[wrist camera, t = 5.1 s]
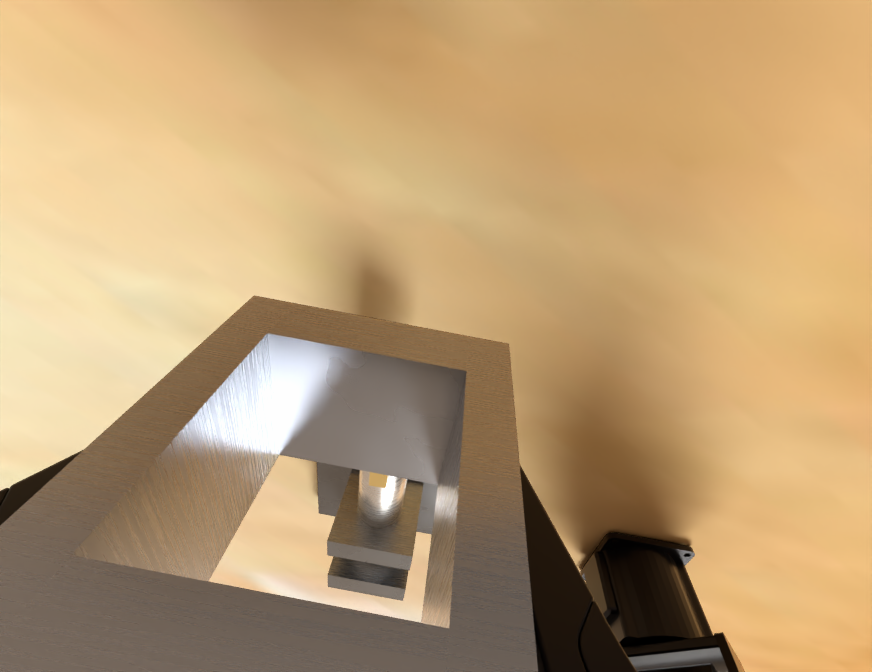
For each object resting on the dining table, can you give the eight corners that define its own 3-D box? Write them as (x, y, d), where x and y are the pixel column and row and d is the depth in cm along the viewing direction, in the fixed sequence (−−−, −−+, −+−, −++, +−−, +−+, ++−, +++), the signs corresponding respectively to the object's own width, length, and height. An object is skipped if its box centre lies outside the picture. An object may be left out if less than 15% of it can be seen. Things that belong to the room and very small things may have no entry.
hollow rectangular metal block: (509, 344, 10) (553, 845, 3) (475, 452, 12) (462, 878, 5) (254, 295, 10) (-191, 697, 3) (267, 411, 12) (13, 789, 6)
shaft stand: (495, 354, 22) (498, 438, 17) (446, 524, 31) (438, 612, 26) (319, 322, 22) (268, 396, 17) (323, 501, 31) (291, 584, 26)
